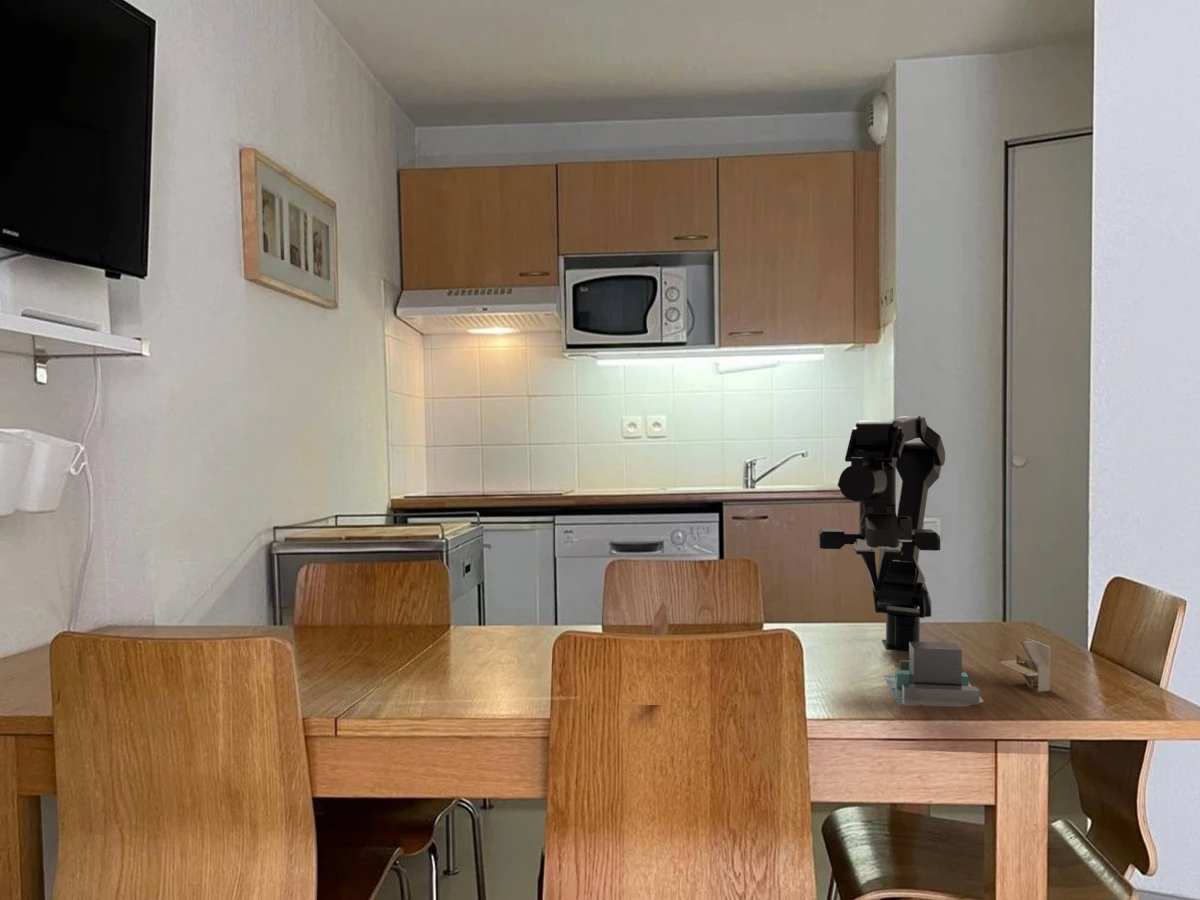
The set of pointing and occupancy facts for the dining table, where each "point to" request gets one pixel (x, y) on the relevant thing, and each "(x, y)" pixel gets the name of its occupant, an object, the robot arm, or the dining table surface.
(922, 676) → the steel block
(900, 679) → the free jaw
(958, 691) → the vise base
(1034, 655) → the architectural model
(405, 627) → the dining table surface
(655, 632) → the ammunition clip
